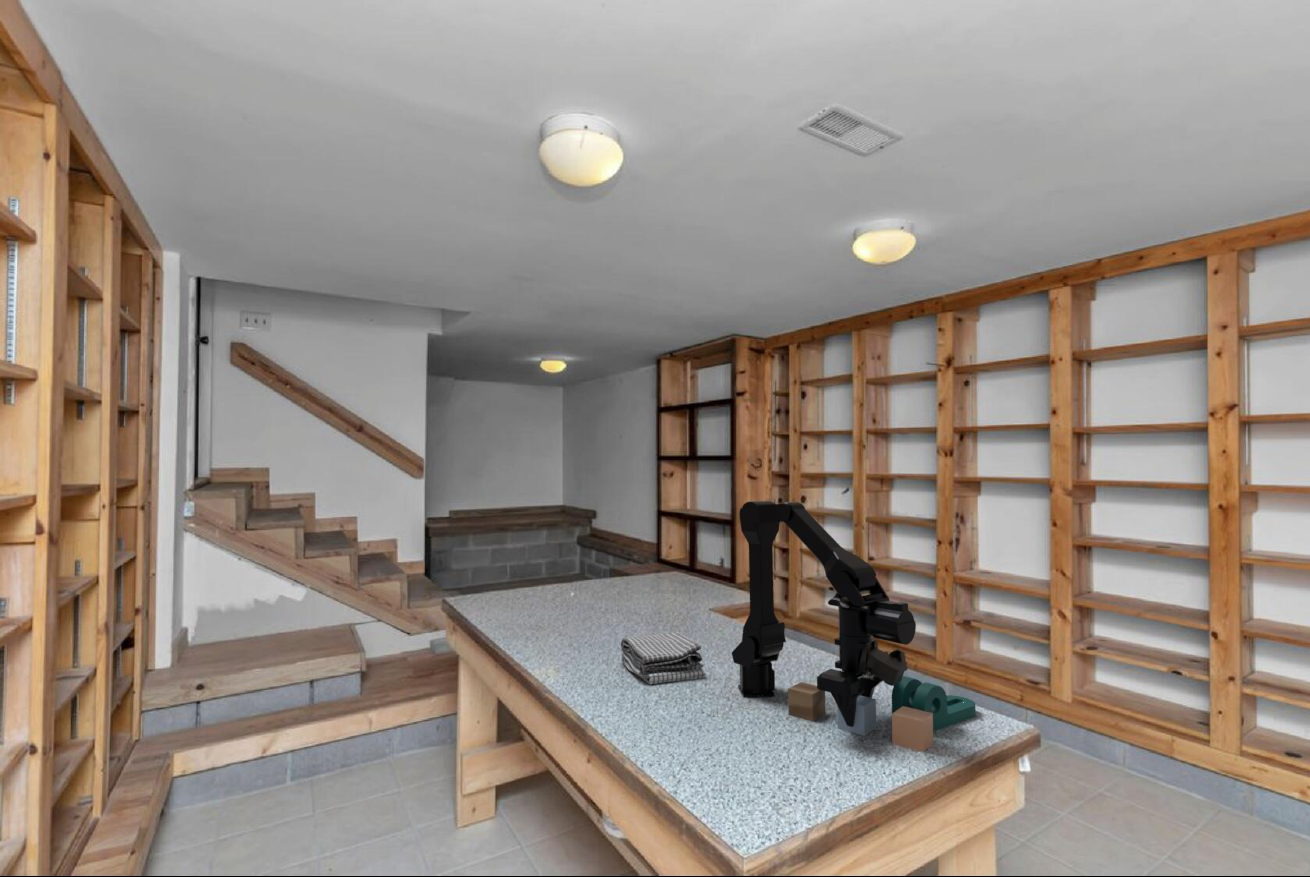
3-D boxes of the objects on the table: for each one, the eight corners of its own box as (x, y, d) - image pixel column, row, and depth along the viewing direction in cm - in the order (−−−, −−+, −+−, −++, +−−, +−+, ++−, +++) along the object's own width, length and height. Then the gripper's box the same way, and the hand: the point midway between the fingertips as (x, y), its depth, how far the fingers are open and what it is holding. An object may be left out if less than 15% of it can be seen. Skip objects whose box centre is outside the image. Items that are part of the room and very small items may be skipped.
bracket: (925, 735, 112) (924, 689, 113) (892, 723, 118) (891, 679, 118) (983, 715, 122) (981, 672, 122) (950, 704, 127) (948, 664, 128)
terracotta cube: (922, 752, 105) (922, 721, 105) (892, 744, 108) (891, 713, 108) (933, 743, 108) (932, 713, 109) (903, 735, 112) (903, 705, 112)
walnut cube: (812, 721, 118) (812, 694, 118) (788, 715, 121) (788, 688, 122) (825, 714, 122) (825, 687, 122) (801, 708, 125) (801, 682, 125)
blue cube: (864, 735, 111) (863, 706, 112) (837, 728, 115) (837, 699, 115) (876, 727, 115) (875, 699, 115) (849, 720, 118) (849, 692, 119)
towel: (676, 658, 160) (676, 626, 161) (707, 680, 143) (707, 644, 143) (618, 664, 155) (618, 631, 155) (643, 687, 138) (644, 650, 138)
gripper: (877, 651, 104) (879, 751, 103) (919, 631, 117) (921, 718, 116) (814, 640, 111) (816, 732, 110) (861, 622, 125) (862, 704, 124)
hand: (856, 721), depth 115 cm, fingers closed on blue cube, 5 cm apart
